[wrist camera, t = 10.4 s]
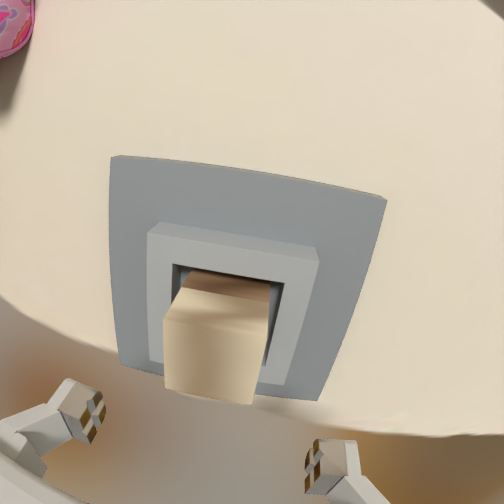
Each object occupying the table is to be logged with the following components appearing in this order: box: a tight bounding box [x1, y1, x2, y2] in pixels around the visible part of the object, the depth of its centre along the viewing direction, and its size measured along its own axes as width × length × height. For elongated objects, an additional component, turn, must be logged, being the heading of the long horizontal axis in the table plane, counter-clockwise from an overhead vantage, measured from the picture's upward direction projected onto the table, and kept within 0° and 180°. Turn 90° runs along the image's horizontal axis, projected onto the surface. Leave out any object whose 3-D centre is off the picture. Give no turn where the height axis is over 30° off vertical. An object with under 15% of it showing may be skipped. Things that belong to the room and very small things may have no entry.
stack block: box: [163, 267, 270, 405], centre depth 16 cm, size 4×4×6 cm
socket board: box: [109, 155, 387, 401], centre depth 19 cm, size 16×16×3 cm
